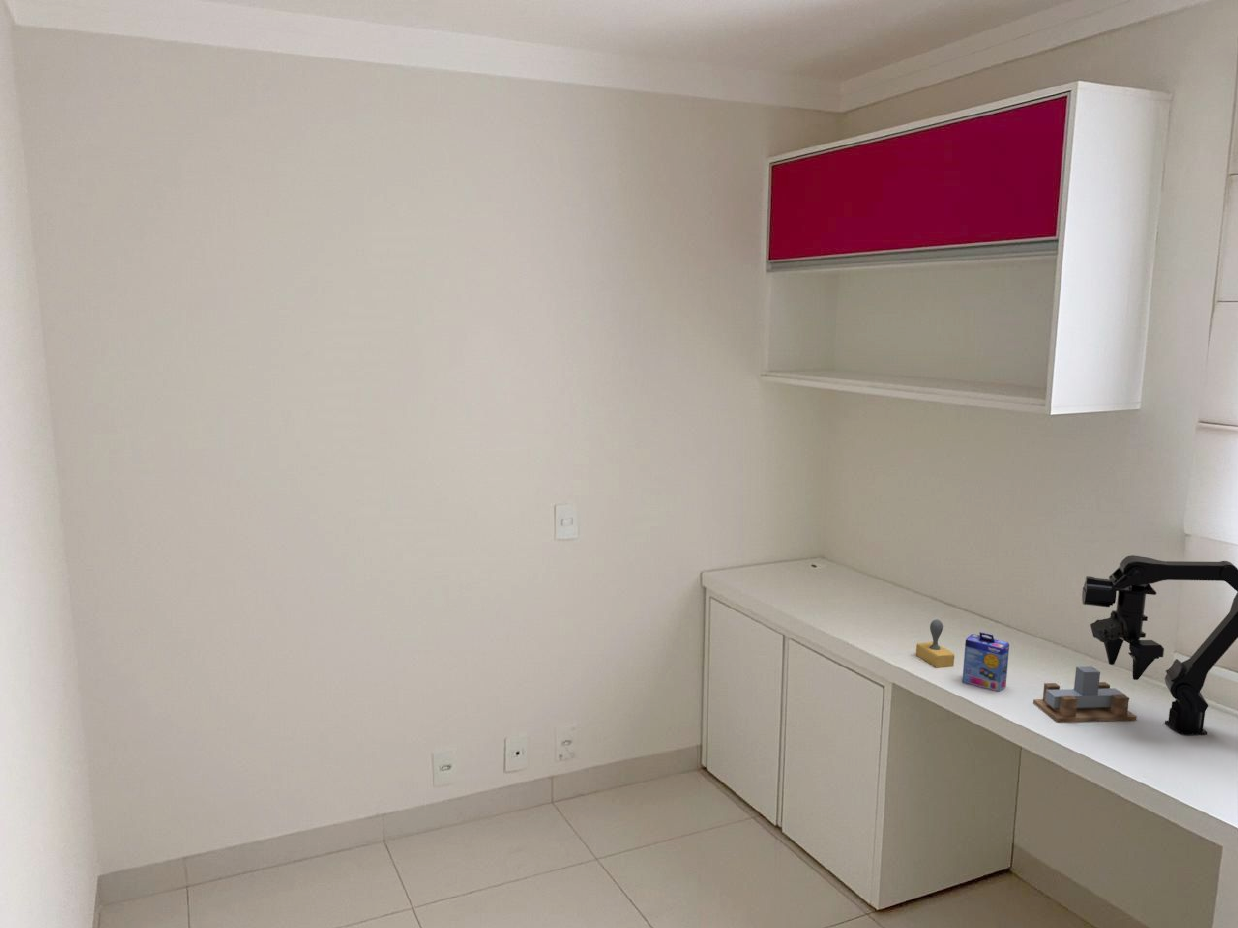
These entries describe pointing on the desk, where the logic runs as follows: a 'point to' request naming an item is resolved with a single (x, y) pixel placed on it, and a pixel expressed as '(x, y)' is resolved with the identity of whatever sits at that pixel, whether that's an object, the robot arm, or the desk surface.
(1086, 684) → the bar
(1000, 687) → the ink cartridge box
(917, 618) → the desk surface
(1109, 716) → the cradle
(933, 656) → the rubber stamp
